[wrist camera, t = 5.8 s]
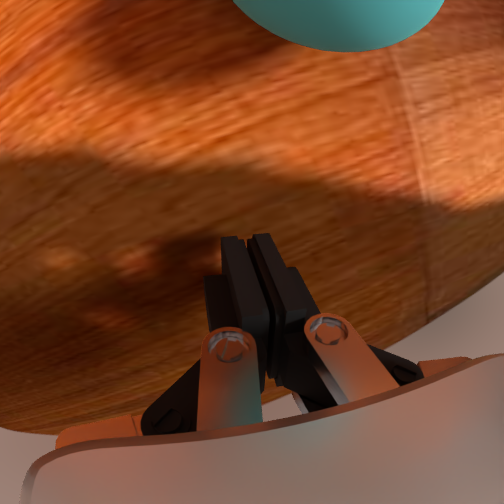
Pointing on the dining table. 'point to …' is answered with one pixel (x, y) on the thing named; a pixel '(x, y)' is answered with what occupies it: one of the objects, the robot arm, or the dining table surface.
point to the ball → (342, 21)
